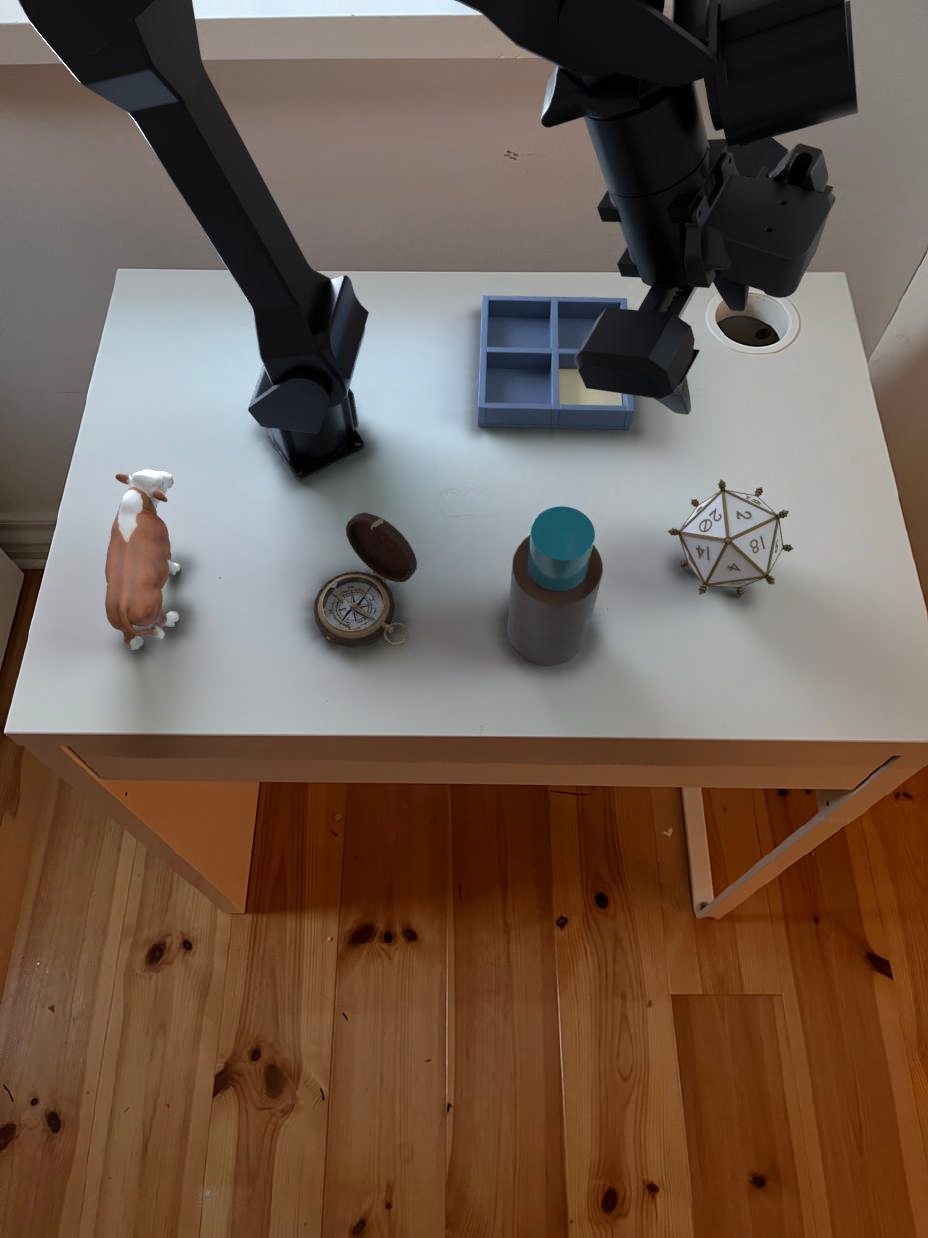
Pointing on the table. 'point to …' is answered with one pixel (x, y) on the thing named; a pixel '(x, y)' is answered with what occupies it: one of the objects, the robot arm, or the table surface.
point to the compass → (366, 584)
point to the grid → (543, 365)
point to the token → (560, 548)
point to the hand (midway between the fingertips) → (711, 359)
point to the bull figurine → (139, 559)
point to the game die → (732, 539)
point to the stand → (550, 612)
